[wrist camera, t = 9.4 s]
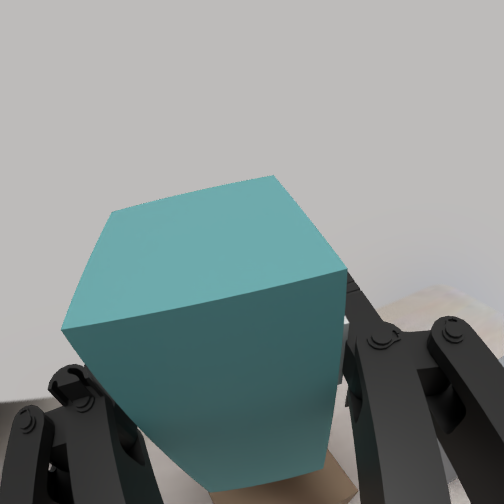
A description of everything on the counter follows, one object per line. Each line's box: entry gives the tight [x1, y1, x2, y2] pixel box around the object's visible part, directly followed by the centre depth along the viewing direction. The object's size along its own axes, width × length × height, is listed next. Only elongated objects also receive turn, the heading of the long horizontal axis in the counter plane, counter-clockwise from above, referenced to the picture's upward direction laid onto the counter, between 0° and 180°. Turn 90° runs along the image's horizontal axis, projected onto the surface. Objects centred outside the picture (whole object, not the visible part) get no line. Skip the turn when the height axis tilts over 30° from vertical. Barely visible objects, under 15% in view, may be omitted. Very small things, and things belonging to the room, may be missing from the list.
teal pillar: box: [61, 175, 347, 493], centre depth 9 cm, size 5×5×10 cm
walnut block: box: [208, 448, 358, 504], centre depth 17 cm, size 8×8×5 cm
